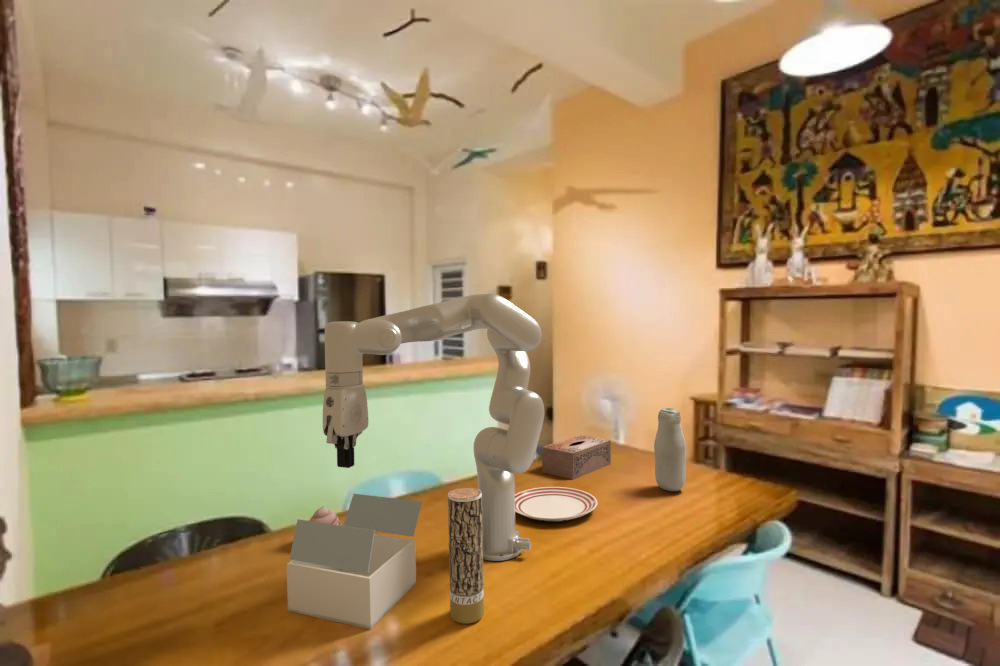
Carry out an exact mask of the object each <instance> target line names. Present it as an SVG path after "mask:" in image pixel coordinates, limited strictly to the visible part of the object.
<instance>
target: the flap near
mask: <svg viewBox="0 0 1000 666" xmlns="http://www.w3.org/2000/svg"><path fill="white" fill-rule="evenodd" d="M375 532H376V531H375V530H368V529H361V528H354V527H348V526H343V525H342V524H341V525H334V524H327V523H320V522H313V521H309V520H305V519H297V520H296V525H295V530H294V535H293V540H292V543H291V544H292V545H291V550H290V553H289V554H290V555H289V560H290V561H291V560H296V561H301V562H307V563H312V564H318V565H324V566H329V567H335V568H340V569H346V570H352V571H357V572H363V573H368V572H369V565H370V559H371V553H372V547H373V540H374V534H376V533H375Z"/></svg>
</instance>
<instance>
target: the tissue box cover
mask: <svg viewBox="0 0 1000 666" xmlns="http://www.w3.org/2000/svg"><path fill="white" fill-rule="evenodd" d="M611 449H612V448H611V439H606V438H601V437H595V436H590V435H589V436H588V435H583V434H579V435H576V436H572V437H569V438H566V439H563V440H560V441H557V442H553V443H550V444H547V445H544V446H541V465H542V466H541V469H542V470H541V472H542V473H545V474H550V475H552V476H556V477H561V478H565V479H568V480H573V481H575V480H576V479H579V478H581V477H583V476H586V475H589V474H591V473H594V472H596V471H599V470H601V469H602V468H605V467H607V466H609V465H611V464H612V460H611V458H612V457H611V453H612V450H611Z"/></svg>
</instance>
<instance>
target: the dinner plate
mask: <svg viewBox="0 0 1000 666" xmlns="http://www.w3.org/2000/svg"><path fill="white" fill-rule="evenodd" d="M597 506H598V500H597V498H596V497H595V496H594V495H593V494H591V493H589V492H588V491H587V492H586V491H584V490H581V489H577V488H572V487H565V486H563V487H562V486H544V487H542V486H541V487H534V488H533V487H532V488H529V489H525V490H523V491H522V490H521V491H519V492H517V493H515V513H517V514H519V515H521V516H524V517H526V518H529V519H533V520H537V521H542V520H544V522H564V521H563V520H566V521H570V520H575V519H577V518H581V517H583V516H585V515H588V514H589V513H591V512H592V511H594V510H595V509H596V508H597Z"/></svg>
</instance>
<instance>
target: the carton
mask: <svg viewBox="0 0 1000 666" xmlns="http://www.w3.org/2000/svg"><path fill="white" fill-rule="evenodd" d="M416 555H417V554H416V539H411V538H404V537H397V536H393V535H392V536H391V535H387V534H386V535H385V534H379V533H378V534H377V533H375V534H374V540H373V547H372V553H371V559H370V565H369V572H368V573H363V572H357V571H352V570H346V569H340V568H335V567H329V566H324V565H318V564H312V563H307V562H301V561H296V560H290V561H287V563H286V584H287V585H286V589H287V590H286V591H287V593H286V594H287V611H288V612H291V613H294V614H301V615H305V616H309V617H314V618H318V619H322V620H327V621H332V622H336V623H339V624H340V623H341V624H345V625H350V626H353V627H354V626H355V627H358V628H364V629H367V630H372V629H373V628H374V627H375V626H376V624H378V623H379V622H380V621H381V620H382V619H383V618H384V617H385V616H386V615H387V614H388V613H389V611H391V610H392V609H393V607H394V606H396V604H397V603H398V602H399V601H400V600H401V599H402V598H404V597H405V595H407V594H408V593H409V591H410V590H411V589H412V588H413V587H415V585H416V584H417V565H416V564H417V562H416V560H417V559H416Z"/></svg>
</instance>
